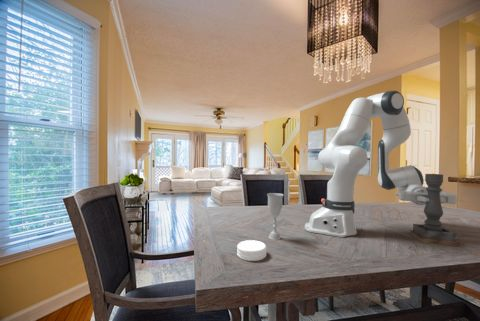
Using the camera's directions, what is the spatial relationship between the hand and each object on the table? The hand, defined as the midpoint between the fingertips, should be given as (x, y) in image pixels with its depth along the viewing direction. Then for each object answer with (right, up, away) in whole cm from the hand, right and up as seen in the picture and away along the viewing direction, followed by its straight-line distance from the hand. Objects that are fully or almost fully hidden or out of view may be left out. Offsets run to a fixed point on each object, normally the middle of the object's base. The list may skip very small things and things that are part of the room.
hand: (434, 200), depth 92 cm
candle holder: (0, -14, +1) cm, 15 cm away
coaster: (-76, -16, -16) cm, 80 cm away
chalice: (-66, -16, +1) cm, 68 cm away
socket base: (0, -16, +1) cm, 16 cm away
